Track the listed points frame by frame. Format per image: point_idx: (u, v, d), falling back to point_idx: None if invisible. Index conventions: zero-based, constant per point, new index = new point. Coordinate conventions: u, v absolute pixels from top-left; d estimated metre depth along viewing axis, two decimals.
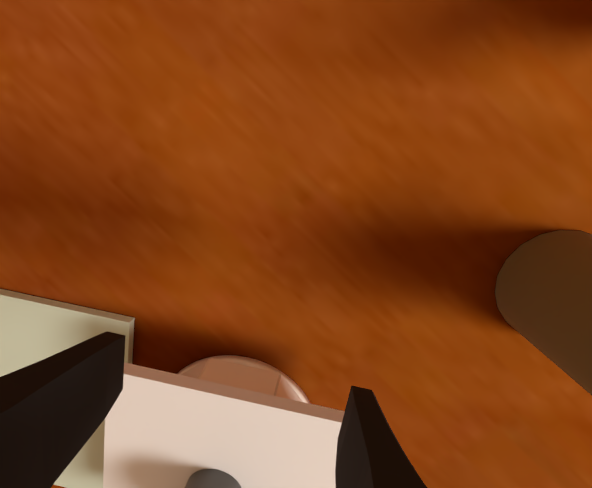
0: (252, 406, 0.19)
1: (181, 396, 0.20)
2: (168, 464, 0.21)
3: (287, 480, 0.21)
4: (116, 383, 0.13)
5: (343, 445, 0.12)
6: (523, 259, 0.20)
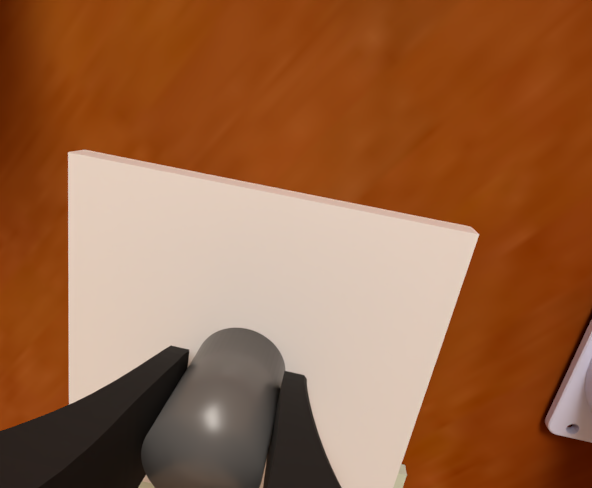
0: (75, 299, 0.14)
1: (83, 386, 0.15)
2: None
3: (197, 258, 0.13)
4: None
5: None
6: None
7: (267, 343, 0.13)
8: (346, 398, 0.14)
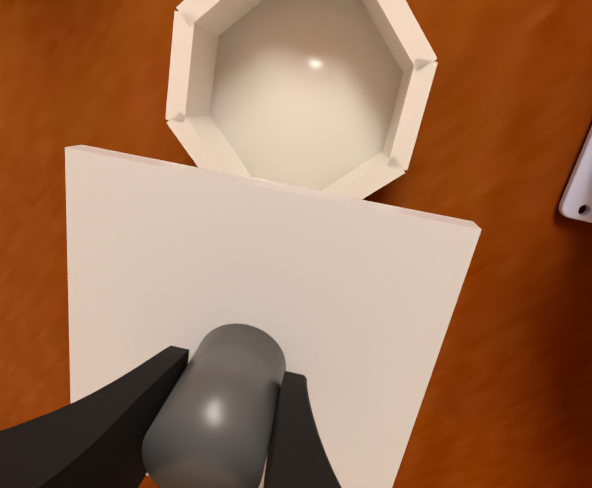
0: (74, 295, 0.14)
1: (84, 382, 0.15)
2: None
3: (196, 254, 0.13)
4: None
5: None
6: None
7: (267, 339, 0.13)
8: (347, 393, 0.14)
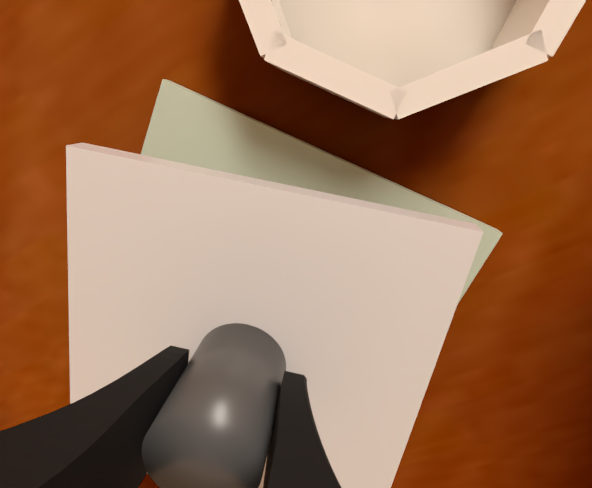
0: (74, 293, 0.14)
1: (84, 380, 0.15)
2: None
3: (197, 253, 0.13)
4: None
5: None
6: None
7: (268, 339, 0.13)
8: (347, 394, 0.14)
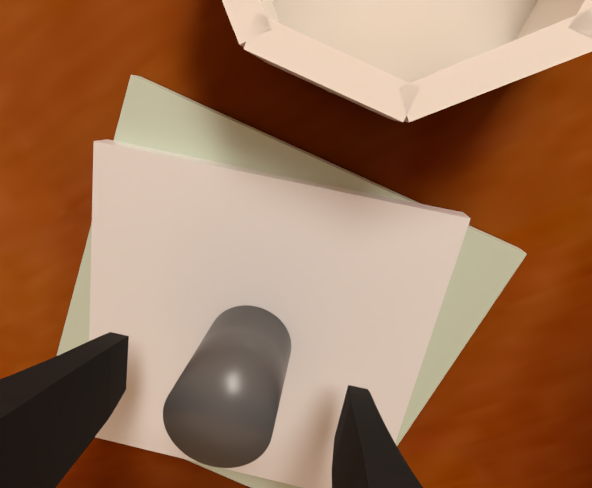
0: (96, 278, 0.15)
1: None
2: None
3: (211, 240, 0.14)
4: (119, 384, 0.13)
5: (339, 444, 0.12)
6: None
7: (275, 319, 0.14)
8: (347, 372, 0.15)
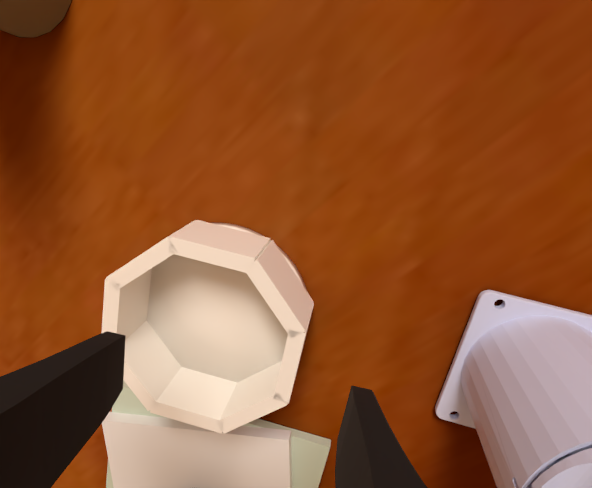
0: (115, 480, 0.27)
1: None
2: None
3: (167, 459, 0.26)
4: (116, 383, 0.13)
5: (343, 445, 0.12)
6: None
7: None
8: None
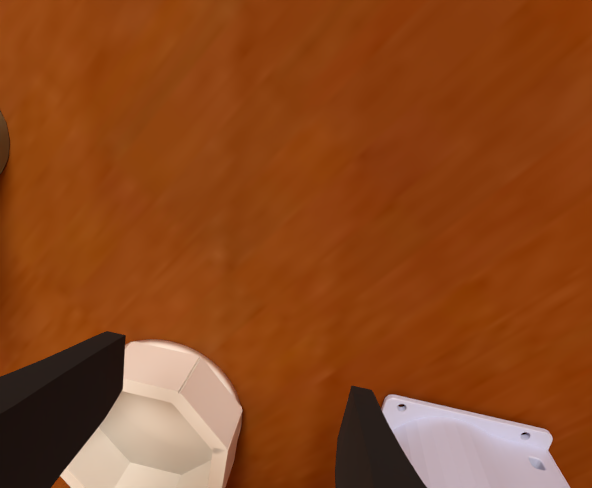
0: None
1: None
2: None
3: None
4: (116, 383, 0.13)
5: (343, 445, 0.12)
6: None
7: None
8: None
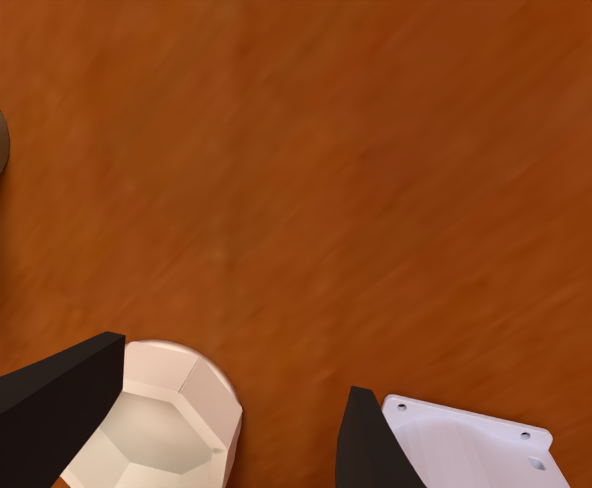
0: None
1: None
2: None
3: None
4: (116, 383, 0.13)
5: (343, 445, 0.12)
6: None
7: None
8: None
